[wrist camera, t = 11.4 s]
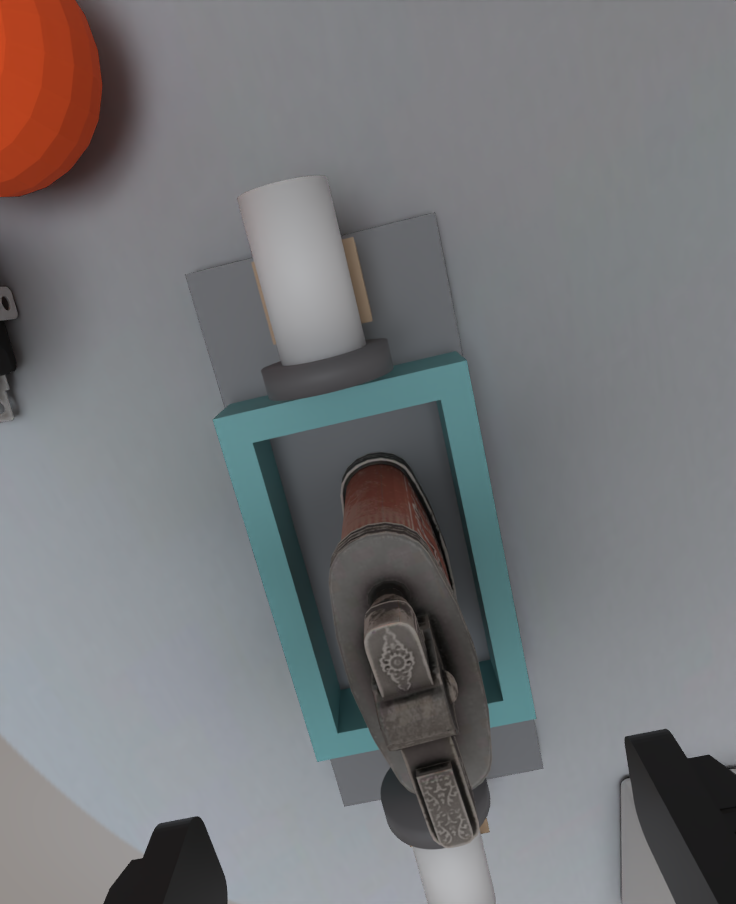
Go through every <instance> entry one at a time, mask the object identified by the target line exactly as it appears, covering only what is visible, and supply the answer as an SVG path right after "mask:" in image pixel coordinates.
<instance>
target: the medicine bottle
mask: <svg viewBox="0 0 736 904" xmlns="http://www.w3.org/2000/svg"><path fill="white" fill-rule="evenodd" d="M729 770H731V771H732V772H734V773H735V774H736V769H729ZM621 853H622V904H676V903H675V901H674V899H673V897H672V894H671V892H670V890H669V888H668V886H667V884H666V882H665V880H664V877H663V875H662V873H661V871H660V869H659V867H658V865H657V863H656V861H655V858H654V856H653V854H652V852H651V850H650V848H649V846H648V843H647V841H646V839H645V836H644V834H643V831H642V828H641V826H640V823H639V819H638V816H637V813H636V809H635V804H634V799H633V793H632V786H631V780H630V778H628V779H625V780H624V781H623V782H622V783H621Z"/></svg>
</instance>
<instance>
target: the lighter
mask: <svg viewBox="0 0 736 904" xmlns="http://www.w3.org/2000/svg"><path fill="white" fill-rule="evenodd" d="M340 496H341V504H342V511H343V526H342V535H341V541H340V542H339V543H338V545H337V547H336V549H335V551H334V553H333V554H332V557H331V564H330V572H329V590H330V597H331V604H332V611H333V619H334V626H335V633H336V639H337V642H338V646H339V650H340V653H341V657H342V660H343V664H344V668H345V671H346V675H347V678H348V682H349V685H350V689H351V692H352V694H353V696H354V699H355V701H356V703H357V705H358V707H359V710H360V712H361V714H362V716H363V718H364V720H365V723H366V725H367V727H368V729H369V731H370V734H371V736H372V738H373V740H374V742H375V743H376V745H377V746H378V748H379V750H380V751H381V753H382V754H383V756H384V758H385V759H386V761H387V762H388V764H389V765H390V767H391V769H392V770H393V772H394V773H395V775H396V777H397V778H398V780H399V781H400V783H401V784H402V785H403V786H404V787H405V788H406V789H407V790H408V791H410V792H412V793H414V794H416V795H417V798H418V801H419V804H420V807H421V810H422V812H423V815H424V818H425V821H426V824H427V826H428V829H429V832H430V835H431V836H432V838H433V840H434V841H435V842H436V843H438V844H439V845H442V846H443V847H445V848H454V847H459V846H463V845H466V844H468V843H470V842H471V841H472V840H473V839H474V838H475V837H476V836H477V835H478V833H479V830H480V828H479V821H478V816H477V811H476V806H475V801H474V796H473V791H472V790H473V789H474V788H476V787H477V786H478V785H480V784H481V783H482V782H483V781H484V779H485V778H486V776H487V775H488V773H489V772H490V769H491V764H492V746H491V732H490V719H489V708H488V704H487V699H486V694H485V690H484V685H483V681H482V676H481V671H480V667H479V662H478V657H477V654H476V650H475V647H474V643H473V640H472V638H471V635H470V633H469V630H468V628H467V625H466V622H465V620H464V617H463V615H462V612H461V610H460V607H459V605H458V602H457V596H456V588H455V584H454V579H453V575H452V570H451V565H450V561H449V556H448V552H447V548H446V544H445V541H444V538H443V536H442V533H441V531H440V528H439V525H438V523H437V520H436V518H435V515H434V513H433V510H432V507H431V505H430V502H429V501H428V499H427V497H426V495H425V493H424V491H423V489H422V488H421V486H420V484H419V482H418V480H417V478H416V476H415V475H414V473H413V471H412V469H411V467H410V466H409V465H408V464H407V462H406V461H405V460H404V459H403V458H401V457H399V456H397V455H395V454H393V453H386V452H375V453H368V454H366V455H364V456H362V457H359V458H357V459H356V460H355V461H354V462H353V463H352V464H350V465H349V466H348V467H347V469H346V471H345V473H344V475H343V477H342V484H341V494H340Z"/></svg>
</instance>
